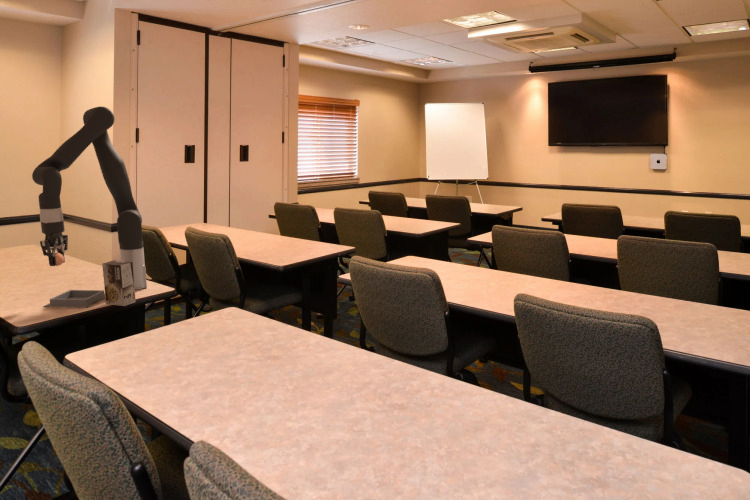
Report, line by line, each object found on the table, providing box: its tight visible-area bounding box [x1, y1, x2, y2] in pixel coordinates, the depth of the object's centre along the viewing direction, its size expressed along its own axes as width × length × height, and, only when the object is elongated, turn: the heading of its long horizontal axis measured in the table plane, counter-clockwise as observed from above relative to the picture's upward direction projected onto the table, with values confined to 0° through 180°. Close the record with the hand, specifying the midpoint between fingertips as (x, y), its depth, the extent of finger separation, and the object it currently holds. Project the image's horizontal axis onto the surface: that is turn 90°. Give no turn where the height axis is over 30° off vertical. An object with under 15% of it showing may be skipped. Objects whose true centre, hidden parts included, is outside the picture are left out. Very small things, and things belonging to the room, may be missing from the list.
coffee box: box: [101, 259, 136, 307], centre depth 212 cm, size 9×6×16 cm
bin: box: [49, 289, 106, 309], centre depth 214 cm, size 14×14×3 cm
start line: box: [42, 302, 51, 308], centre depth 214 cm, size 2×14×1 cm, turn 179°
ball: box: [55, 252, 65, 267], centre depth 212 cm, size 5×5×5 cm
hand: (57, 264), depth 212 cm, fingers closed on ball, 5 cm apart
